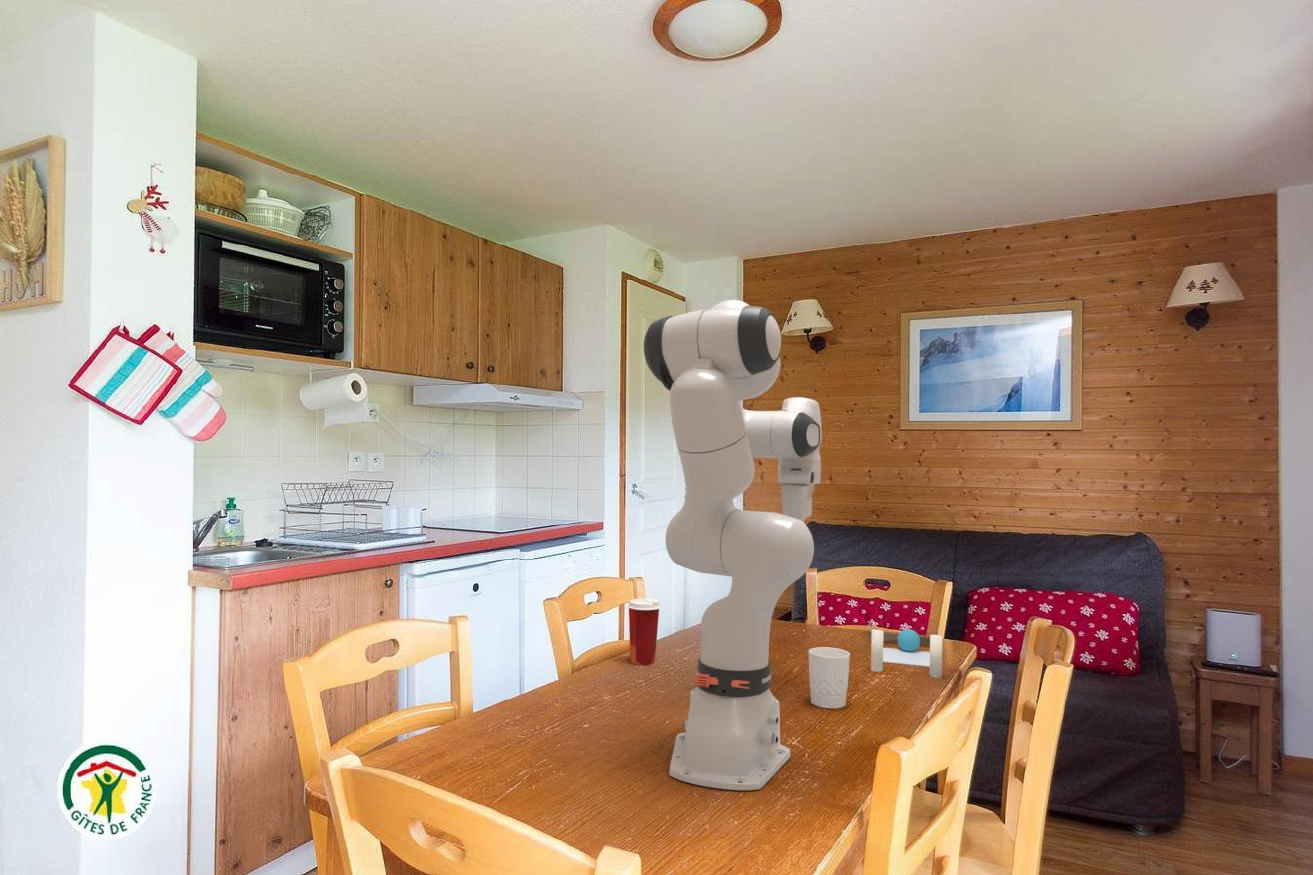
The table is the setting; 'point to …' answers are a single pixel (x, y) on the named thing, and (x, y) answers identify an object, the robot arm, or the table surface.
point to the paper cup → (643, 630)
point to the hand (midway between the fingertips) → (797, 540)
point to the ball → (908, 640)
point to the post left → (877, 650)
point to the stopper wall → (892, 637)
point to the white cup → (828, 676)
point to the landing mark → (906, 657)
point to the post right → (935, 656)
